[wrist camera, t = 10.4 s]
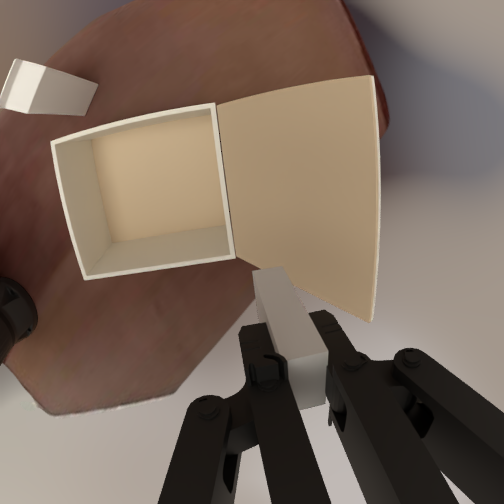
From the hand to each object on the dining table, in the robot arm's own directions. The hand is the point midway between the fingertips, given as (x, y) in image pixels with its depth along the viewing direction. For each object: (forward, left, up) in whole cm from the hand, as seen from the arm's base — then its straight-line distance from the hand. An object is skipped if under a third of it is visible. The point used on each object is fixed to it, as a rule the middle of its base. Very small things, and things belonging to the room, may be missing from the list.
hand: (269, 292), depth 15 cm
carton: (-12, +2, -38) cm, 40 cm away
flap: (+4, +2, -15) cm, 15 cm away
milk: (-24, +20, -38) cm, 49 cm away
